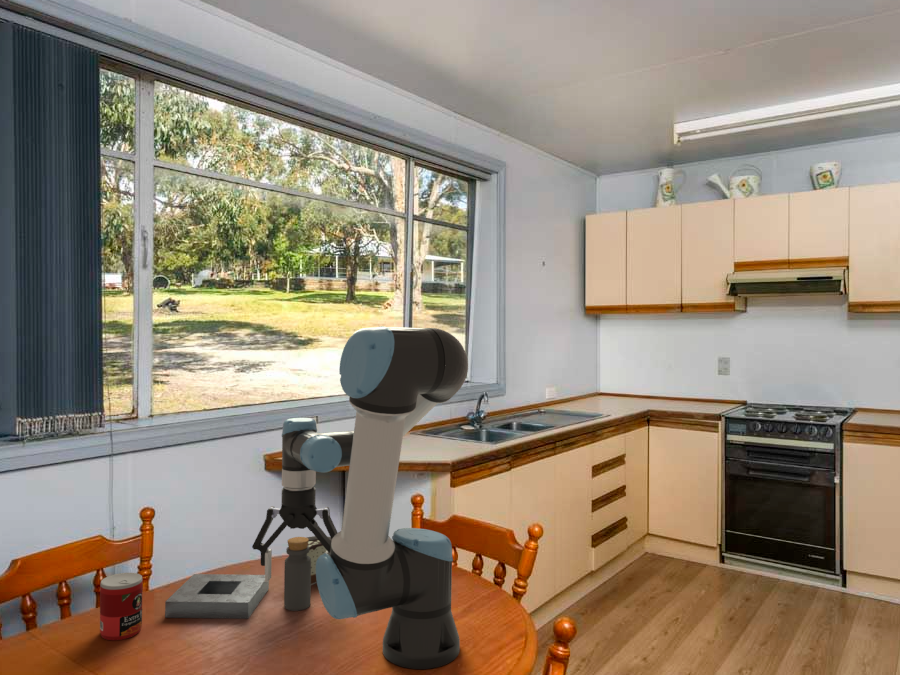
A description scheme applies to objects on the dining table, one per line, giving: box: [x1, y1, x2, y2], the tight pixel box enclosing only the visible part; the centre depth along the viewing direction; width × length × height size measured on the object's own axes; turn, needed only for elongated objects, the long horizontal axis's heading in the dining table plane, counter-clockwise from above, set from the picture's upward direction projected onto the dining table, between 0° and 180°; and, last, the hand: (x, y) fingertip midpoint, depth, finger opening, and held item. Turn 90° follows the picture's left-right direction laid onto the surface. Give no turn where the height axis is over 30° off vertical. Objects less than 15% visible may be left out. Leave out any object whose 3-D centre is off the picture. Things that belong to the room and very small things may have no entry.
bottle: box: [283, 536, 312, 612], centre depth 148 cm, size 6×6×15 cm
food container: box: [306, 535, 332, 586], centre depth 163 cm, size 12×6×10 cm, turn 144°
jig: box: [164, 573, 270, 620], centre depth 149 cm, size 16×18×4 cm
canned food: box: [99, 572, 143, 641], centre depth 134 cm, size 8×8×11 cm
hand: (297, 580), depth 148 cm, fingers open, 13 cm apart
